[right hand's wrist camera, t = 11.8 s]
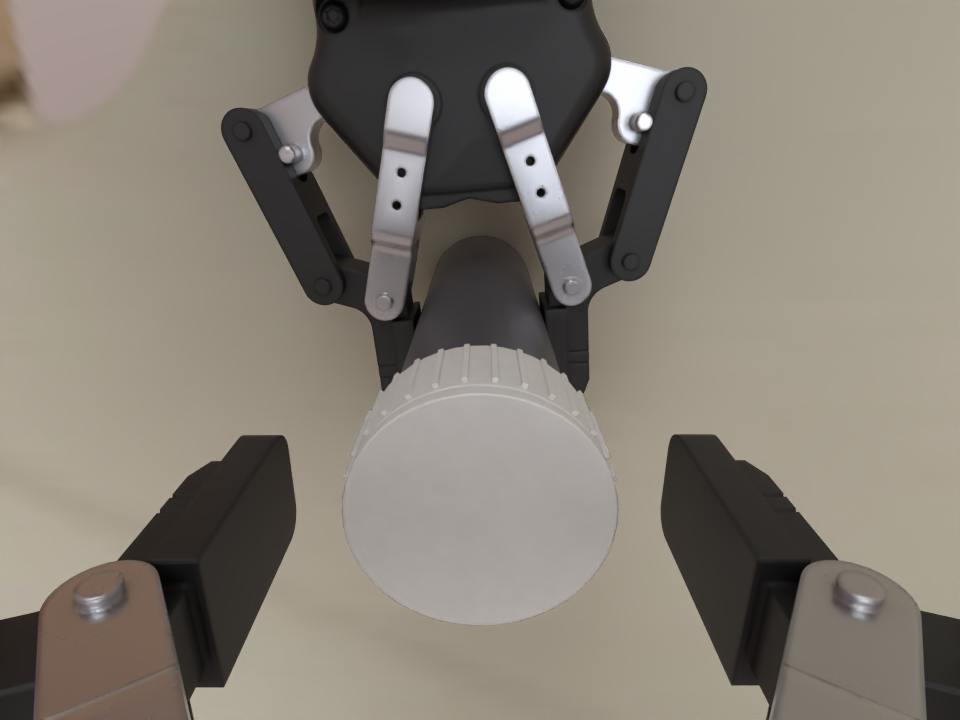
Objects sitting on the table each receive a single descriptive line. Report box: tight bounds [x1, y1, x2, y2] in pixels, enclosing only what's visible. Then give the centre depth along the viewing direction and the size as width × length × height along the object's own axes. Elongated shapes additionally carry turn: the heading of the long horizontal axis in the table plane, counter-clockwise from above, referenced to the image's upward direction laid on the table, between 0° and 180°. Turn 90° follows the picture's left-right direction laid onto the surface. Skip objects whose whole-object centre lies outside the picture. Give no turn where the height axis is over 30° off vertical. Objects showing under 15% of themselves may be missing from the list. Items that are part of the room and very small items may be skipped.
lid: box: [342, 344, 618, 625], centre depth 11 cm, size 5×5×2 cm
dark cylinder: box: [401, 236, 561, 374], centre depth 18 cm, size 4×4×16 cm
